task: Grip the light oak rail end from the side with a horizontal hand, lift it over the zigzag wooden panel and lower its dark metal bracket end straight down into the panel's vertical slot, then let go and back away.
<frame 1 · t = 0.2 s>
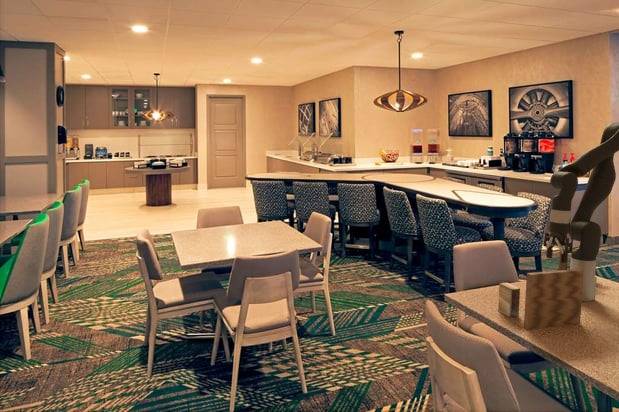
hand: (556, 260, 203), 17 cm above the table, tool pointing down, fingers open, 8 cm apart
zigzag wooden panel: (547, 322, 182), on the table
rail end: (508, 313, 192), on the table
wooden block: (570, 283, 231), on the table
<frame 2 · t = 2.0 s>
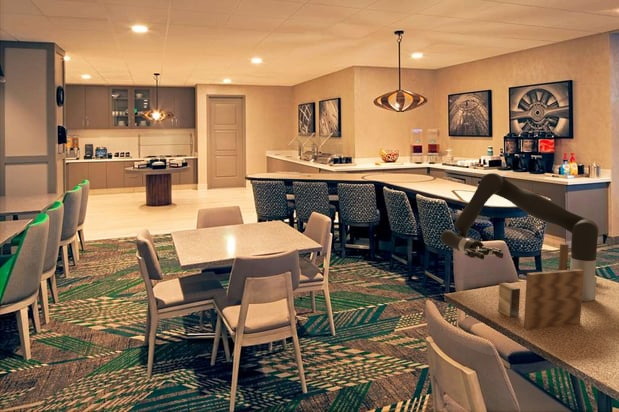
hand: (492, 256, 200), 20 cm above the table, tool horizontal, fingers open, 8 cm apart
nothing on the table moved.
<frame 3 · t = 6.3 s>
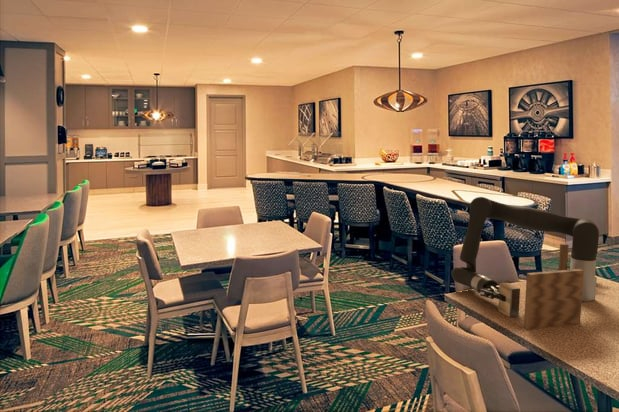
hand: (509, 298, 191), 6 cm above the table, tool horizontal, fingers closed on rail end, 3 cm apart
rail end: (508, 313, 192), on the table, touching gripper
everything else where it was.
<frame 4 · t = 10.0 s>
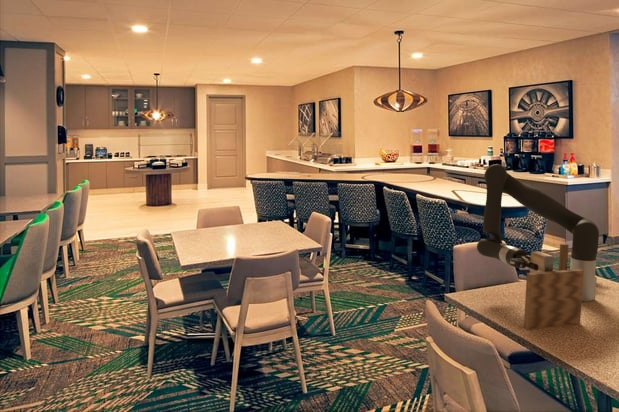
hand: (542, 267, 183), 20 cm above the table, tool horizontal, fingers closed on rail end, 3 cm apart
rail end: (540, 282, 185), point 14 cm above the table, touching gripper
everything else where it was.
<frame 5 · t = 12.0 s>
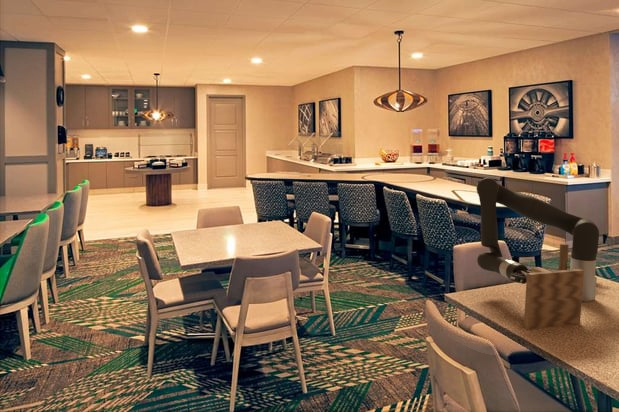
hand: (542, 283, 184), 14 cm above the table, tool horizontal, fingers closed on rail end, 3 cm apart
rail end: (540, 298, 185), point 8 cm above the table, touching gripper
everything else where it was.
when the fingers open (8 cm above the table, at t = 13.8 s): rail end stays where it is, on the table.
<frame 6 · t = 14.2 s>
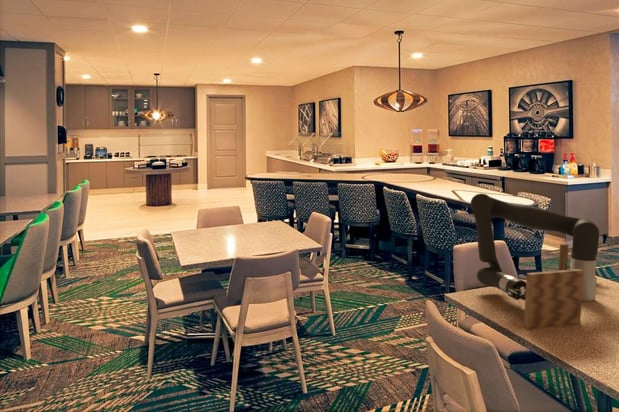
hand: (540, 299, 185), 8 cm above the table, tool horizontal, fingers open, 7 cm apart
rail end: (539, 318, 186), on the table
everything else where it was.
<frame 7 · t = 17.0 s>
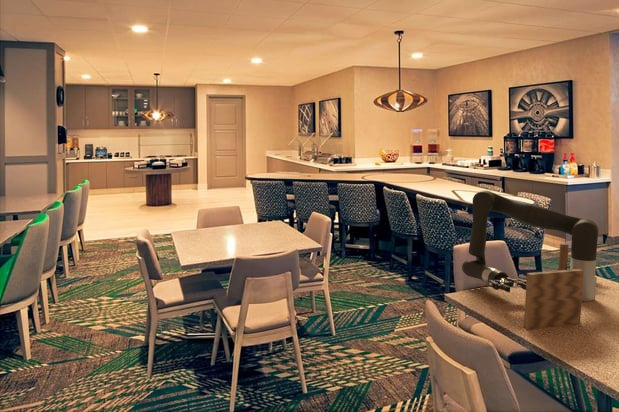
hand: (518, 289, 198), 7 cm above the table, tool horizontal, fingers open, 8 cm apart
nothing on the table moved.
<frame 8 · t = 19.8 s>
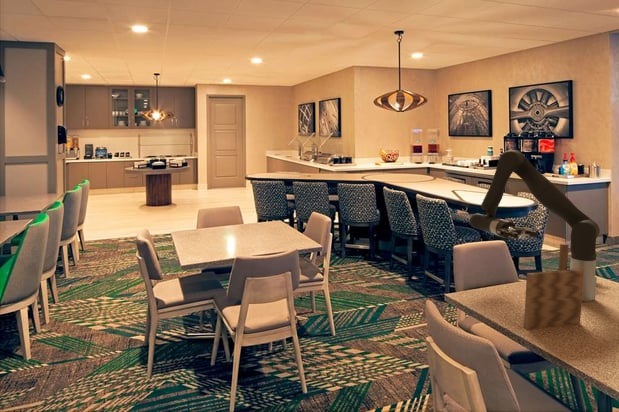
hand: (526, 235, 201), 28 cm above the table, tool horizontal, fingers open, 8 cm apart
nothing on the table moved.
at the end: rail end 0.5 cm from the target spot, on the table; rail end tilted 0°; the gripper is holding nothing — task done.
